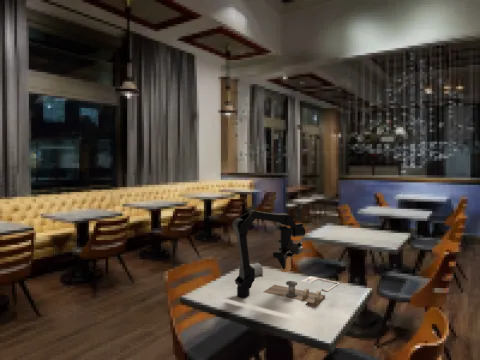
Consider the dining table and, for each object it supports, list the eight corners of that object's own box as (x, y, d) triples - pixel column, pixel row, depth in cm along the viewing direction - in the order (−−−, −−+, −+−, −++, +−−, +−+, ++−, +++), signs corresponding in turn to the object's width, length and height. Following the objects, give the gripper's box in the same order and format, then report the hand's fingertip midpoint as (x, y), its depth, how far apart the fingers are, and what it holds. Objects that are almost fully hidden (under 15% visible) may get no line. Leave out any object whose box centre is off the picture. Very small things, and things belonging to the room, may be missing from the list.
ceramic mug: (244, 276, 203) (244, 263, 202) (255, 274, 207) (255, 261, 206) (255, 282, 194) (255, 268, 193) (266, 279, 198) (266, 266, 198)
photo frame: (310, 275, 200) (339, 282, 188) (310, 277, 200) (339, 284, 188) (297, 282, 189) (327, 290, 177) (297, 284, 189) (327, 292, 177)
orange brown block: (290, 269, 180) (290, 256, 180) (286, 272, 176) (286, 258, 176) (285, 268, 182) (285, 255, 181) (281, 271, 178) (281, 258, 177)
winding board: (315, 306, 159) (315, 290, 158) (263, 294, 174) (262, 280, 174) (325, 298, 169) (324, 283, 168) (274, 287, 184) (274, 273, 184)
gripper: (292, 243, 166) (292, 275, 167) (307, 236, 181) (307, 265, 182) (271, 241, 172) (272, 271, 173) (288, 234, 187) (288, 262, 188)
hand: (286, 267), depth 179 cm, fingers closed on orange brown block, 5 cm apart
